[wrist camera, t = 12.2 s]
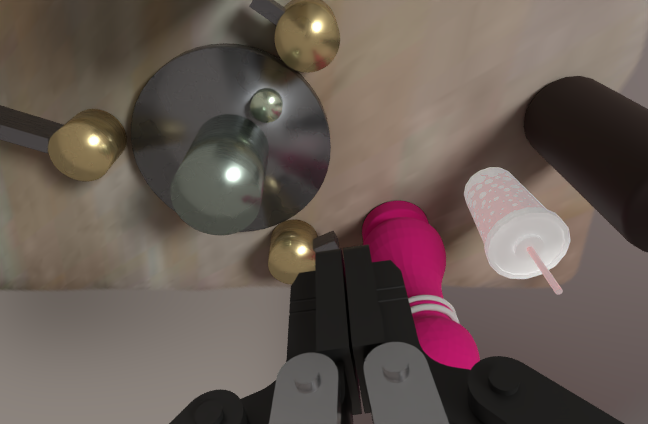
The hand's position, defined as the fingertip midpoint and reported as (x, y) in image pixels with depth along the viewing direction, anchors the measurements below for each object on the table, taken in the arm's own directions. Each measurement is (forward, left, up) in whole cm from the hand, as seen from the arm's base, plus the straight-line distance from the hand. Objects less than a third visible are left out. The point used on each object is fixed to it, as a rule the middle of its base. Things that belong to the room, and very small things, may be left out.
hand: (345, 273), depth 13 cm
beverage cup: (+8, +18, -27) cm, 33 cm away
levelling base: (+8, -4, -27) cm, 28 cm away
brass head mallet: (+10, -21, -27) cm, 35 cm away
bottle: (0, +21, -27) cm, 34 cm away
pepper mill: (+14, +11, -27) cm, 32 cm away
